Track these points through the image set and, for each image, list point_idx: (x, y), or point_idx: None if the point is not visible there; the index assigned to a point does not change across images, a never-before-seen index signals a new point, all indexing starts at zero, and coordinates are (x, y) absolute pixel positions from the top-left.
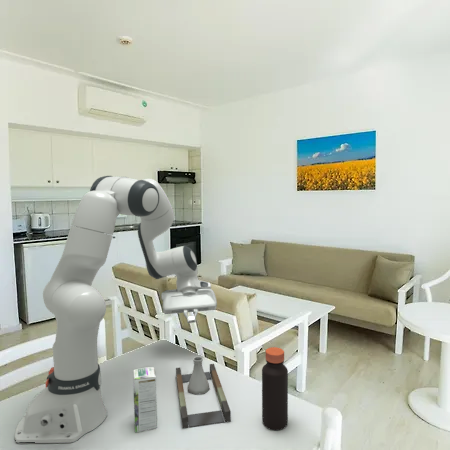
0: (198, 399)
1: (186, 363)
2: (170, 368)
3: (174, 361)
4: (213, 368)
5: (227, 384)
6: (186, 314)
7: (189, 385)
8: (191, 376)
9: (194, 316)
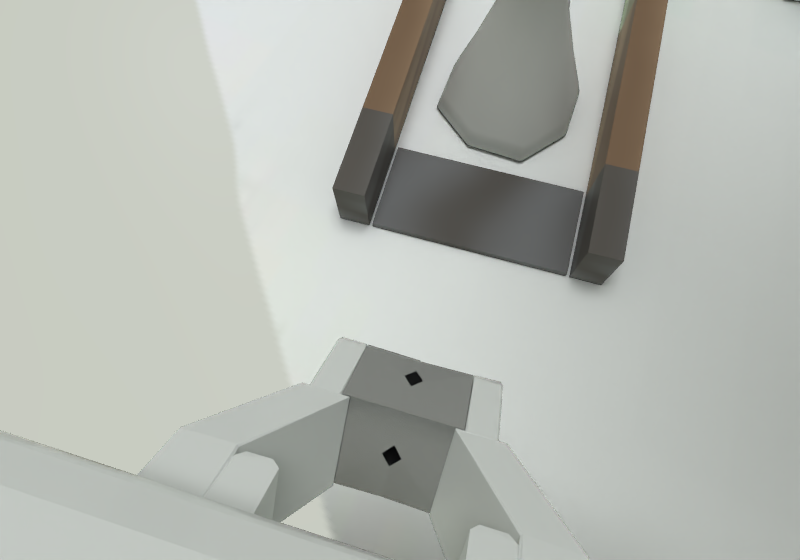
0: None
1: None
2: (614, 418)
3: None
4: (368, 132)
5: (339, 69)
6: (513, 489)
7: (576, 70)
8: (566, 55)
9: (331, 382)
